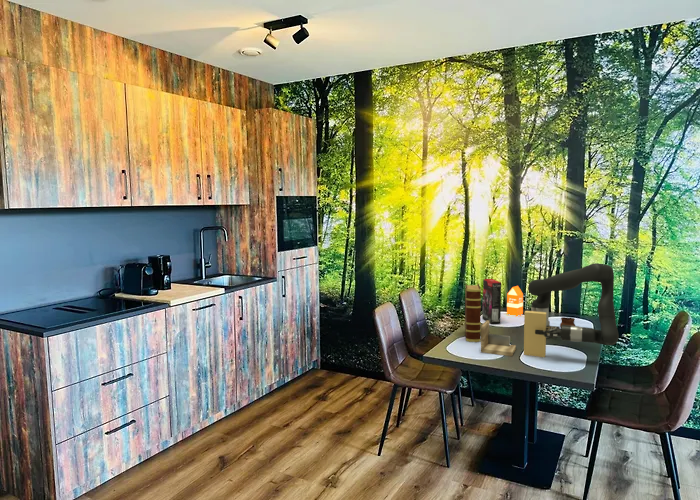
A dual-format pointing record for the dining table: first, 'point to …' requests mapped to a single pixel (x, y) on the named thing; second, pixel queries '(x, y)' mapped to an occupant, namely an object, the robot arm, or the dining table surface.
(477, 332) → the decorative book
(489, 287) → the graphics card box
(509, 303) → the orange juice
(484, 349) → the wooden l-shaped piece
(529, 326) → the book
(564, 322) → the ceramic pot
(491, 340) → the grey flat panel
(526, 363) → the dining table surface
